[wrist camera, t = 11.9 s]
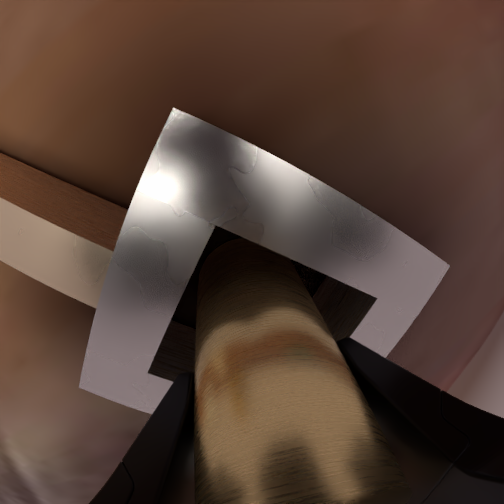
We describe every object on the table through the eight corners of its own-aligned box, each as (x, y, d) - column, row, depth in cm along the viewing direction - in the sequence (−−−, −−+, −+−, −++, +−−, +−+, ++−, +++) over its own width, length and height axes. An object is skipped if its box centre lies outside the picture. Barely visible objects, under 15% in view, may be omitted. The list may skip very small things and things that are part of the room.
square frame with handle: (288, 393, 15) (303, 444, 12) (-73, 234, 9) (-112, 260, 6) (401, 232, 13) (450, 265, 9) (-34, 44, 6) (-81, 37, 3)
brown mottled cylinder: (298, 312, 14) (390, 522, 5) (210, 330, 14) (226, 560, 4) (288, 228, 12) (439, 456, 3) (187, 248, 12) (160, 522, 3)
